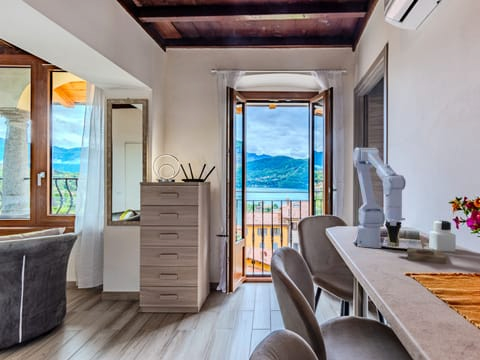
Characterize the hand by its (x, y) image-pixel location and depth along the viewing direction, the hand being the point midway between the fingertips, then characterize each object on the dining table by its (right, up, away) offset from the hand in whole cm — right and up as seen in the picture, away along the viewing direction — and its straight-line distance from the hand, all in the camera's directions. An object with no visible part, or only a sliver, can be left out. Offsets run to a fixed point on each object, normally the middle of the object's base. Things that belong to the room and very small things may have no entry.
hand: (393, 241), depth 127 cm
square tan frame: (+11, -6, -3) cm, 13 cm away
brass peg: (0, -2, 0) cm, 2 cm away
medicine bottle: (+25, -5, +9) cm, 27 cm away
